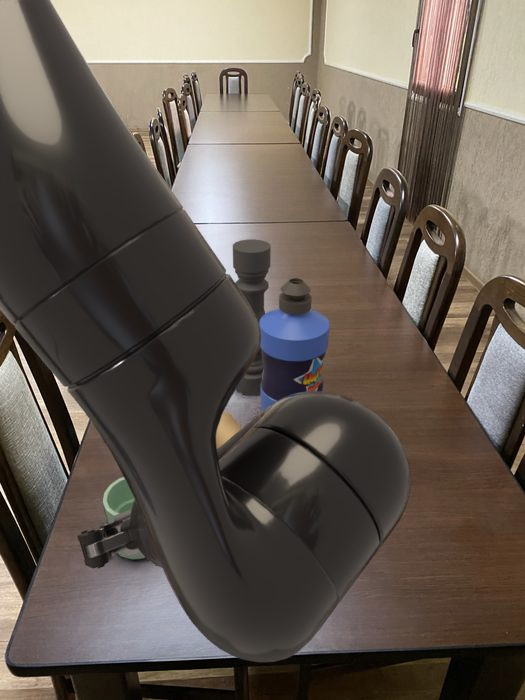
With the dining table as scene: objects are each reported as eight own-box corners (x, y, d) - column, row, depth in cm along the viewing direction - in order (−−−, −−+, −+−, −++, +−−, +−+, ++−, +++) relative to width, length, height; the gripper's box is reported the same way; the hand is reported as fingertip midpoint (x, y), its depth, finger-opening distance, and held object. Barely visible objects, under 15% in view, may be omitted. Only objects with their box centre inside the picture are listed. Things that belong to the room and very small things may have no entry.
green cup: (121, 571, 61) (112, 525, 57) (106, 530, 65) (96, 486, 62) (175, 548, 63) (170, 503, 59) (157, 510, 68) (150, 467, 64)
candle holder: (238, 397, 89) (235, 255, 76) (231, 377, 94) (227, 240, 81) (274, 392, 90) (277, 251, 77) (265, 373, 95) (266, 237, 82)
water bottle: (332, 430, 82) (346, 278, 69) (297, 463, 76) (305, 303, 63) (283, 407, 87) (287, 261, 74) (246, 436, 81) (244, 283, 68)
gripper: (267, 430, 40) (211, 454, 54) (71, 500, 34) (67, 506, 48) (303, 529, 39) (235, 527, 53) (106, 620, 33) (91, 589, 47)
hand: (155, 517), depth 51 cm, fingers open, 8 cm apart
